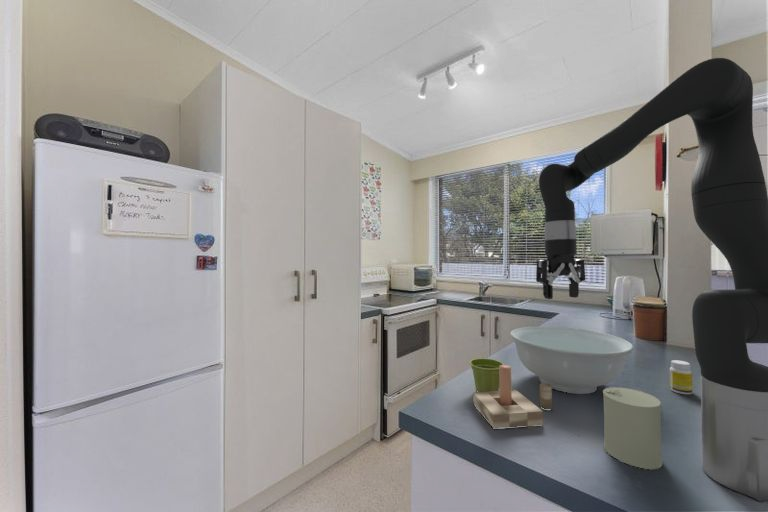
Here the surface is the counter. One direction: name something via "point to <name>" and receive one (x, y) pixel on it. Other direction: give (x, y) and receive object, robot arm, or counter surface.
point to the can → (632, 427)
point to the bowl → (571, 357)
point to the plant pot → (486, 374)
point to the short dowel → (545, 396)
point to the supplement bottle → (680, 377)
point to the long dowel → (505, 385)
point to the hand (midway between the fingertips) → (561, 297)
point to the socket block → (508, 410)
